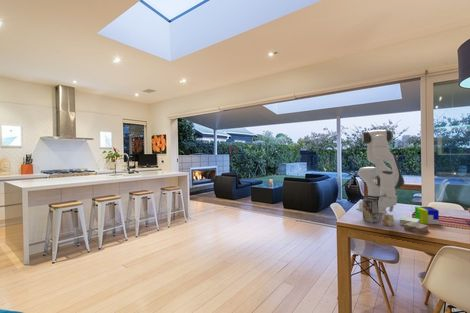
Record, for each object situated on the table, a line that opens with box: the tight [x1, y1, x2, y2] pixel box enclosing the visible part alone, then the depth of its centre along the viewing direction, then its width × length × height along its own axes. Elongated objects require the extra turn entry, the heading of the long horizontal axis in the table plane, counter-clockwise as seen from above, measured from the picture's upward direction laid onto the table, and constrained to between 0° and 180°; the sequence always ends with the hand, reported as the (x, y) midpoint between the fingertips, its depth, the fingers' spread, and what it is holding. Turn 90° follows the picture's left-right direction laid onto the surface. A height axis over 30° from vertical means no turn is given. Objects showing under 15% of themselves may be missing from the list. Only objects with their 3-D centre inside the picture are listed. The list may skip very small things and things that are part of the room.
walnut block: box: [403, 222, 429, 235], centre depth 158 cm, size 10×10×4 cm
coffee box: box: [362, 198, 379, 224], centre depth 181 cm, size 9×6×16 cm
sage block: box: [399, 216, 421, 226], centre depth 170 cm, size 10×10×4 cm
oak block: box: [381, 213, 394, 227], centre depth 171 cm, size 5×5×7 cm
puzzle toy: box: [414, 206, 440, 225], centre depth 174 cm, size 10×10×10 cm
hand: (387, 212), depth 170 cm, fingers open, 8 cm apart
